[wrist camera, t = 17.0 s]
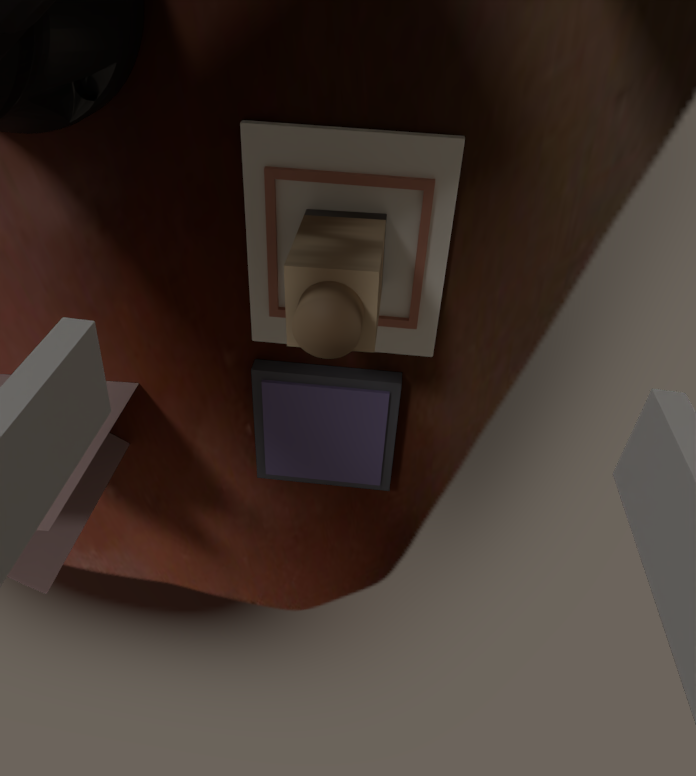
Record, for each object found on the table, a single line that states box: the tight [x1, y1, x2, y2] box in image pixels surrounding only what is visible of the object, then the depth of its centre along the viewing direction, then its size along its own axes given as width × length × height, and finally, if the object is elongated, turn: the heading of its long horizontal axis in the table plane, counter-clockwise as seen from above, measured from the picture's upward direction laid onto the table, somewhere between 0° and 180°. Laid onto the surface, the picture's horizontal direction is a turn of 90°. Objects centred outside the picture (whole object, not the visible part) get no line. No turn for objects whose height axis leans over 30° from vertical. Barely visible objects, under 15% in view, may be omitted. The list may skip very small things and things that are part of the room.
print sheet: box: [240, 120, 465, 357], centre depth 41 cm, size 13×15×1 cm
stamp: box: [284, 209, 387, 359], centre depth 37 cm, size 5×5×10 cm
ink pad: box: [251, 359, 402, 491], centre depth 50 cm, size 11×11×2 cm
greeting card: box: [0, 374, 139, 594], centre depth 45 cm, size 11×7×15 cm, turn 55°
